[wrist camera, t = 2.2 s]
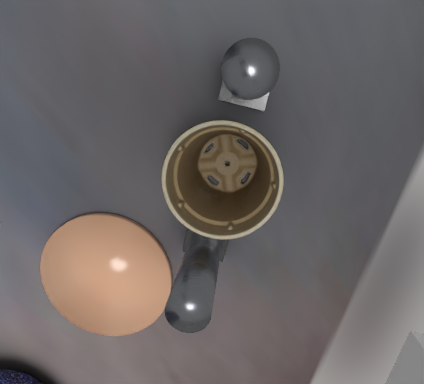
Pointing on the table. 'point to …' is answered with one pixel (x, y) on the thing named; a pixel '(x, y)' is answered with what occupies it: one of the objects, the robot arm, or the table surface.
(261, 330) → the table surface
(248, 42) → the post
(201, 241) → the post
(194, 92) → the table surface
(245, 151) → the flower pot
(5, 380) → the planter
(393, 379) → the robot arm
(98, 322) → the saucer
